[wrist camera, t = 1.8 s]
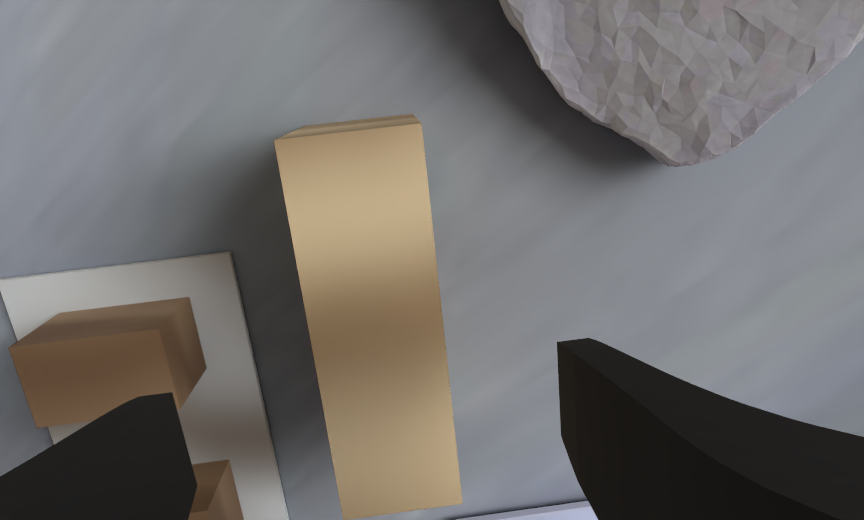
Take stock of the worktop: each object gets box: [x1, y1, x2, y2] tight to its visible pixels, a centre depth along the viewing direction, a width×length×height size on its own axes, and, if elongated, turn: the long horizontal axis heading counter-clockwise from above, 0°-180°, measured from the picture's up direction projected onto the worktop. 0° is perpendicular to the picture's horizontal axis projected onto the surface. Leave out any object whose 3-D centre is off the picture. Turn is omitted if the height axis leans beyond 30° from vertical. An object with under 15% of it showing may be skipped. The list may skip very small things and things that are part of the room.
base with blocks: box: [0, 251, 289, 520], centre depth 18 cm, size 11×7×3 cm, turn 6°
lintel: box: [274, 114, 463, 520], centre depth 16 cm, size 10×3×5 cm, turn 6°
